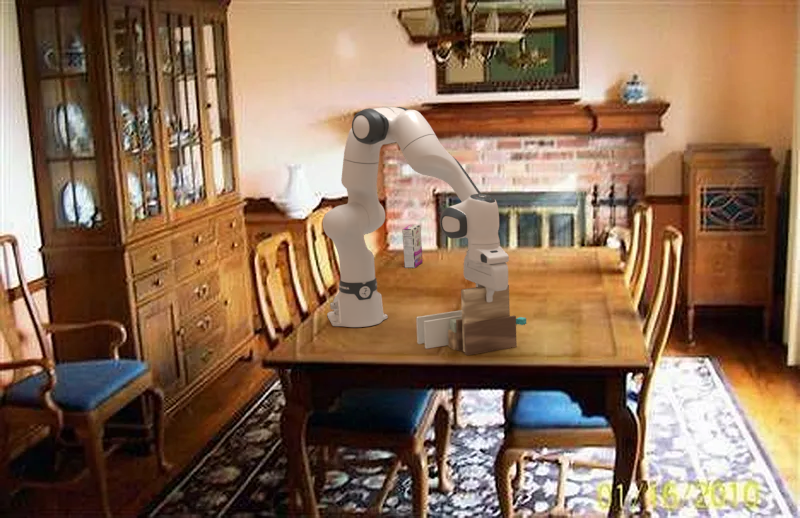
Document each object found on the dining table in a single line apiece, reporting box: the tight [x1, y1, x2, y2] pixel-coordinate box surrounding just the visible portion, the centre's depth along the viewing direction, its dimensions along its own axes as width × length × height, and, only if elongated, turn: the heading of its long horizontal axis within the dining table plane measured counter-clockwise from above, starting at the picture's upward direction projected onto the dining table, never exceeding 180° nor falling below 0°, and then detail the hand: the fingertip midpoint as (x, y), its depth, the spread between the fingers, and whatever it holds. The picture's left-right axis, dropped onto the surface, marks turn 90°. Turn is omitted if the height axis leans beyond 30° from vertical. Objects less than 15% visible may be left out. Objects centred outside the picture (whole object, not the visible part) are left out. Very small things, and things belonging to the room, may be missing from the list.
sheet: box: [460, 284, 511, 353], centre depth 261 cm, size 2×14×18 cm, turn 113°
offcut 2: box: [448, 330, 458, 351], centre depth 265 cm, size 4×6×5 cm, turn 113°
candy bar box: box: [401, 224, 423, 269], centre depth 381 cm, size 11×5×16 cm, turn 162°
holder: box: [415, 309, 462, 350], centre depth 270 cm, size 6×16×8 cm, turn 113°
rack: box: [456, 315, 517, 356], centre depth 262 cm, size 6×16×9 cm, turn 113°
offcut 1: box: [450, 318, 462, 333], centre depth 264 cm, size 4×5×3 cm
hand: (485, 300), depth 260 cm, fingers closed on sheet, 2 cm apart
